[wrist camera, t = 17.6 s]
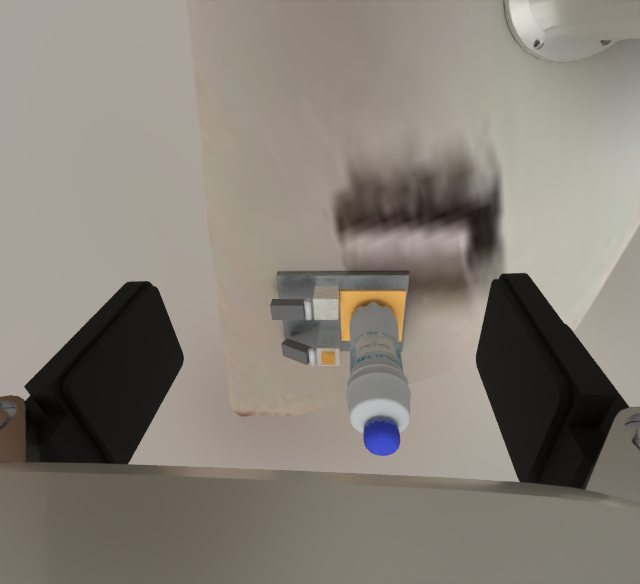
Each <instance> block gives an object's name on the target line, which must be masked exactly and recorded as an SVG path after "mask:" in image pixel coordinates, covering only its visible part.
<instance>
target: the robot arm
mask: <svg viewBox="0 0 640 584" xmlns="http://www.w3.org/2000/svg"><path fill="white" fill-rule="evenodd" d="M504 4H505V14H506V18H507V22H508V25H509V28H510V31H511V32H512V34H513V36H514V38H515V39H516V41H517V42H518V43H519V45H520V46H521V47H522V48H523V49H524V50H525V51H526V52H528V53H530V54H531V55H533V56H535V57H536V58H540V59H543V60H546V61H553V62H571V61H577V60H581V59H585V58H589V57H591V56H593V55H595V54H598V53H600V52H602V51H604V50H606V49H607V48H609V47H611V46H612V45H614V44H615V43H617V42H618V41H620V40H624V39H640V0H504ZM536 40H537V41H538V44H537V46H536V47H534V42H535V41H536ZM601 40H603V41H602V42H601ZM183 360H184V356H183V352H182V349H181V347H180V344H179V342H178V339H177V337H176V334H175V331H174V329H173V326H172V324H171V321H170V319H169V316H168V313H167V311H166V308H165V305H164V303H163V300H162V298H161V295H160V292H159V290H158V288H157V287H155V286H153V285H152V284H151V283H150V282H148V281H142V282H141V281H139V282H127V283H125V284H124V285H123V286H122V287H121V289H119V290H118V291H117V293H115V294H114V296H113V297H112V298H111V299H110V300H109V301H108V302H107V303H106V304H105V305H104V306H103V307H102V308H101V309H100V310H99V311H98V312H97V313H96V314H95V315H94V316H93V317H92V318H91V319H90V320H89V321H88V322H87V323H86V324H85V325H84V326H83V327H82V328H81V329H80V331H78V332H77V333H76V334H75V335H74V337H72V338H71V339H70V340H69V341H68V342H67V344H65V346H63V348H62V349H61V350H60V351H59V352H58V353H57V354H56V355H55V356H54V357H53V358H52V359H51V360H50V361H49V362H48V363H47V364H46V365H45V366H44V367H43V368H42V369H41V370H40V371H39V372H38V373H37V374H36V375H35V376H34V377H33V378H32V379H31V380H30V381H29V382H28V383H27V384H26V385H25V386H24V387H25V388H26V390H27V391H28V392H29V394H30V397H29V398H28V399H27V400H26V401H24V399H22V398H20V397H19V396H12V395H9V396H2V397H0V584H640V407H629V406H628V405H627V404H626V402H625V401H624V399H623V398H622V397H621V395H620V394H619V393H618V391H617V390H616V389H615V387H614V386H613V385H612V383H611V382H610V381H609V379H608V378H607V377H606V375H605V374H604V373H603V371H602V370H601V369H600V367H599V366H598V365H597V364H596V362H595V361H594V359H593V358H592V357H591V356H590V354H589V353H588V351H587V350H586V349H585V347H584V346H583V345H582V343H581V342H580V341H579V339H578V338H577V337H576V335H575V334H574V333H573V331H572V330H571V329H570V328H569V327H568V326H567V325H566V324H564V323H563V321H562V320H561V319H560V317H559V316H558V314H557V313H556V312H555V310H554V309H553V308H552V306H551V305H550V304H549V302H548V301H547V300H546V298H545V297H544V296H543V294H542V293H541V291H540V290H539V289H538V287H537V286H536V285H535V283H534V282H533V281H532V279H531V278H530V277H529V275H528V274H526V273H511V274H501V276H500V277H499V279H494V280H493V281H492V284H491V288H490V293H489V297H488V302H487V307H486V311H485V316H484V321H483V326H482V330H481V335H480V340H479V344H478V349H477V354H476V364H477V368H478V371H479V374H480V377H481V379H482V382H483V385H484V387H485V390H486V393H487V396H488V398H489V401H490V404H491V406H492V409H493V412H494V415H495V417H496V420H497V422H498V425H499V428H500V431H501V434H502V436H503V439H504V441H505V444H506V447H507V450H508V453H509V455H510V458H511V461H512V463H513V466H514V469H515V471H516V474H517V477H518V479H519V481H520V482H508V481H492V480H475V479H460V478H443V477H422V476H421V477H419V476H400V475H378V474H377V475H376V474H355V473H334V472H311V471H286V470H263V469H237V468H213V467H186V466H157V465H130V464H129V465H128V463H129V461H130V460H131V458H132V456H133V454H134V452H135V450H136V449H137V447H138V445H139V443H140V441H141V440H142V438H143V436H144V434H145V432H146V431H147V429H148V427H149V425H150V423H151V421H152V420H153V418H154V416H155V414H156V412H157V410H158V409H159V407H160V405H161V403H162V401H163V400H164V398H165V396H166V394H167V392H168V391H169V389H170V387H171V385H172V383H173V382H174V380H175V378H176V376H177V374H178V372H179V371H180V369H181V367H182V365H183Z"/></svg>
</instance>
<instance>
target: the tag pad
mask: <svg viewBox="0 0 640 584" xmlns="http://www.w3.org/2000/svg"><path fill="white" fill-rule="evenodd" d="M405 298H406V290H340V305H341V341H350V331H349V326H350V320H351V318H352V316H353V314H354V312H355V310H356V309H357V308H358V307H359V306H363V307H365V306H367V305H368V304H369V303H370V302H376V303H377V304H378V305H379V306H385V305H386V306H388V307H389V308H390V309H391V310H392V312H393V314H394V316H395V317H396V320H397V323H398V330H399V341H402V331H403V320H404V309H405Z"/></svg>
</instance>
